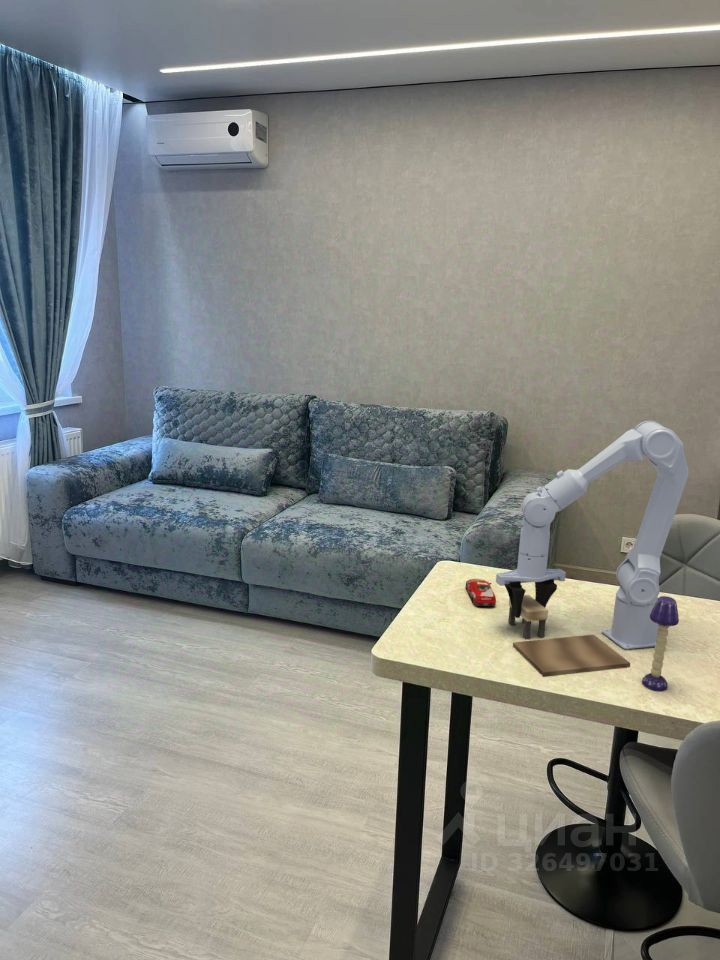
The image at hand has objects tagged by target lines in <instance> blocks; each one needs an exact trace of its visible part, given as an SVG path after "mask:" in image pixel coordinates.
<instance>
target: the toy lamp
mask: <svg viewBox="0 0 720 960" xmlns="http://www.w3.org/2000/svg"><path fill="white" fill-rule="evenodd" d="M650 619H651V620H652V621H653V622H655V623H657V624H658V627H659V628H658V630H657V635H658V636H657V638H656V645H655V646H654V652H653V656H652V657H653V660H652V662H651V665H652V667H651V669H650V673H647V674H645V675H644V676H643V677H642V679H641V685H643V686H644V687H645V688H646V689H648V690H652V691H656V692H664V691H666V690H668V683H667V682H668V681H667V680H666V678H665V677H664V676H663V675H662V673H663V672H662V668H663V666H664V662H663V661H664V659H665V652H666V645H667V642H668V639H667V637H668V635H669V631H668V629H669V628H670V627H675V626H677V625H678V624H679V622H680V620H679V619H680V618H679V610H678V603H677V601H676V599H674V598H673V597H671V596H668V595H667V596H665V595H664V596H663V595H661V596H658V599H657V601H656V603H655V605H654V607H653V609H652V611H651V614H650Z"/></svg>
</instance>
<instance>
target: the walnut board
mask: <svg viewBox="0 0 720 960" xmlns="http://www.w3.org/2000/svg"><path fill="white" fill-rule="evenodd" d="M512 647H513V648H514V649H515V650H516V651H517V652H518V653H519V654H520V655H521V656H522V657H523V658H524V659H525V660H526V661H527V662H528V663H529V664H530V665H531V666H532V667H533V668H534V669H535V670H536V671H537V672H538V673H539V674H540V675H541V676H542V677H551V676H557V675H561V676H562V675H567V674H568V675H569V674H570V675H571V674H579V673H589V672H594V671H605V670H612V669H613V670H614V669H621V668H622V669H624V668H630V667H631V662H630V661H629V660H627V659H626V658H625V657H624V656H622V655H621V654H620V653H618V652H617V651H615V649H613V648H612V647H611V646H609V645H608V644H607V643H605V642H604V641H603V640H602V639H601V638H599V637H598V636H597V635H595V634H587V635H586V634H585V635H578V636H577V635H576V636H565V637H557V638H554V637H553V638H547V639H546V638H544V639H543V638H542V639H537V640H536V639H535V640H525V641H524V640H523V641H513V643H512Z"/></svg>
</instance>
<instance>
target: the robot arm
mask: <svg viewBox="0 0 720 960" xmlns="http://www.w3.org/2000/svg"><path fill="white" fill-rule="evenodd" d="M643 455H644V456H645V457H646V458H647V459H648V460H649V462H650V464H651V465H652V467H653V468H654V470H655V471H656V473H657V476H656V478H655V482H654V485H653V487H652V491H651V493H650V497H649V498H648V499H649V500H648V503H647V506H646V509H645V512H644V515H643V517H642V519H641V524H640V527H639V530H638V532H637V535H636V538H635V542H634V544H633V547H632V548H631V549H630V550H629V551H628V552H627V553H626V557H625V559H624V560H623V561H622V563H620V564H619V565H618V567H617V569H616V572H615V577H616V580H617V582H618V584H620V586H619V587H618V590H617V591H616V592H615V601H614V609H613V616H612V624H611V628H607V629H602V630H601V633H602V634H604V636H606V637H608V639H610V640H611V641H613V642H614V643H616V644H617V645H618V646H619V647H620V648H622V649H623V650H632V649H641V648H652V647H655V645H656V638H657V636H658V635H657V630H658V628H659V627H658V624H657V623H655V622H653V621H652V620H651V619H650V614H651V611H652V609H653V607H654V605H655V603H656V601H657V599H658V598H659V595H660V590H661V589H660V588H661V587H660V584H659V579H660V576H661V561H660V560H661V556H662V553H663V550H664V549H665V548H664V547H665V544H666V541H667V539H668V536H669V533H670V530H671V527H672V524H673V521H674V519H675V515H676V512H677V510H678V507H679V504H680V500H681V498H682V495H683V493H684V489H685V487H686V484H687V481H688V478H689V474H690V471H689V467H688V463H687V459H686V455H685V451H684V443H683V441H682V440H681V439H680V438H679V437H678V435H677V434H676V433H675V431H673V430H672V429H670V428H668V427H665V426H663V425H662V424H661V423H659V422H657V421H654V420H645V421H642V422H640V423H639V424H637V425H636V426H635V428H631V429H629V430H627V431H625V432H624V433H623V434H621V436H620V437H618V438H617V439H616V440H614V441H613V442H612V443H611V444H609V445H608V446H606V448H604V449H603V450H602V451H601V452H599V453H598V454H597V455H595V456H594V457H592V459H590V460H589V461H588V462H586V463H585V464H584V465H582V466H581V467H580V468H578V469H572V468H571V469H570V468H569V469H566V470H565V471H563V470H562V469H561V470H559V471H557V473H556V477H555V478H554V479H552V480H551V481H550V482H548V483H547V484H545V485H544V486H538V487H537V488H536V491H535V492H534V491H533V492H530V493H529V494H527V495H526V496H524V498H523V500H522V503H520V509H521V512H522V514H523V515H522V521H521V528H520V532H519V533H520V537H519V547H518V556H517V568H515V569H512V570H507V571H504V572H500V573H498V572H497V573H496V574H495V575H496V576H495V583H496V584H497V585H498V586H504V587H505V590H506V592H507V595H508V598H510V602H511V607H512V614H513V615H514V616H515V619H520V618H521V616H520V615H521V606H522V601H523V597H524V595H526V592H527V591H526V589H524V588H523V585H522V584H526V583H534V589H535V591H534V592H535V598H534V599H535V600H536V601H537V602H538V603H540V604H541V605H542V606H543V607H545V608H546V606H547V605H548V603H549V601H550V600H551V597H552V596H553V595H554V593H555V592H556V591H557V589H558V584H557V583H555V581H559V582H565V581H566V574H567V573H566V571H565V570H562V569H561V568H548V558H549V547H550V540H551V539H550V538H551V537H550V536H551V531H550V529H551V523H552V522H553V521H554V519H555V517H556V514H557V513H558V512H561V511H562V510H564V509H566V508H567V507H568V506H570V505H571V504H572V503H573V502H575V501H576V500H578V499H580V498H582V496H584V495H586V493H587V492H588V491H587V490H588V485H589V484H590V483H592V482H593V481H595V480H596V479H598V478H600V477H601V476H603V475H604V474H606V473H608V472H609V471H611V470H612V469H614V468H615V467H617V466H619V465H620V464H622V463H623V462H625V461H627V462H643V461H644V457H643Z"/></svg>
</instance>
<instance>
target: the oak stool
mask: <svg viewBox="0 0 720 960" xmlns="http://www.w3.org/2000/svg"><path fill="white" fill-rule="evenodd" d="M508 598H509V597H508ZM508 606H509V609H508V621H507V623H508V625H509V626H515V625H516V617H515V616H514V615H513V614H512V607H511V602H510V598H509V599H508ZM548 617H549V610H548V608H546V607H543V606H542V605H541V604H540V603H538V602H537V601H536V600H535V598H533V597H532V596H531V595H529V594H524V597H523V601H522V606H521V615H520V618H522V619H521V623H522V624H523V635H522V637H523V639H524V640H530V639H531V630H532V622H535V621H537V622H538V625H537V634H536V635H537V637H538V638H539V639H543V638H544V639H545V633H546V625H547V624H546V623H547V620H548Z"/></svg>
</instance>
